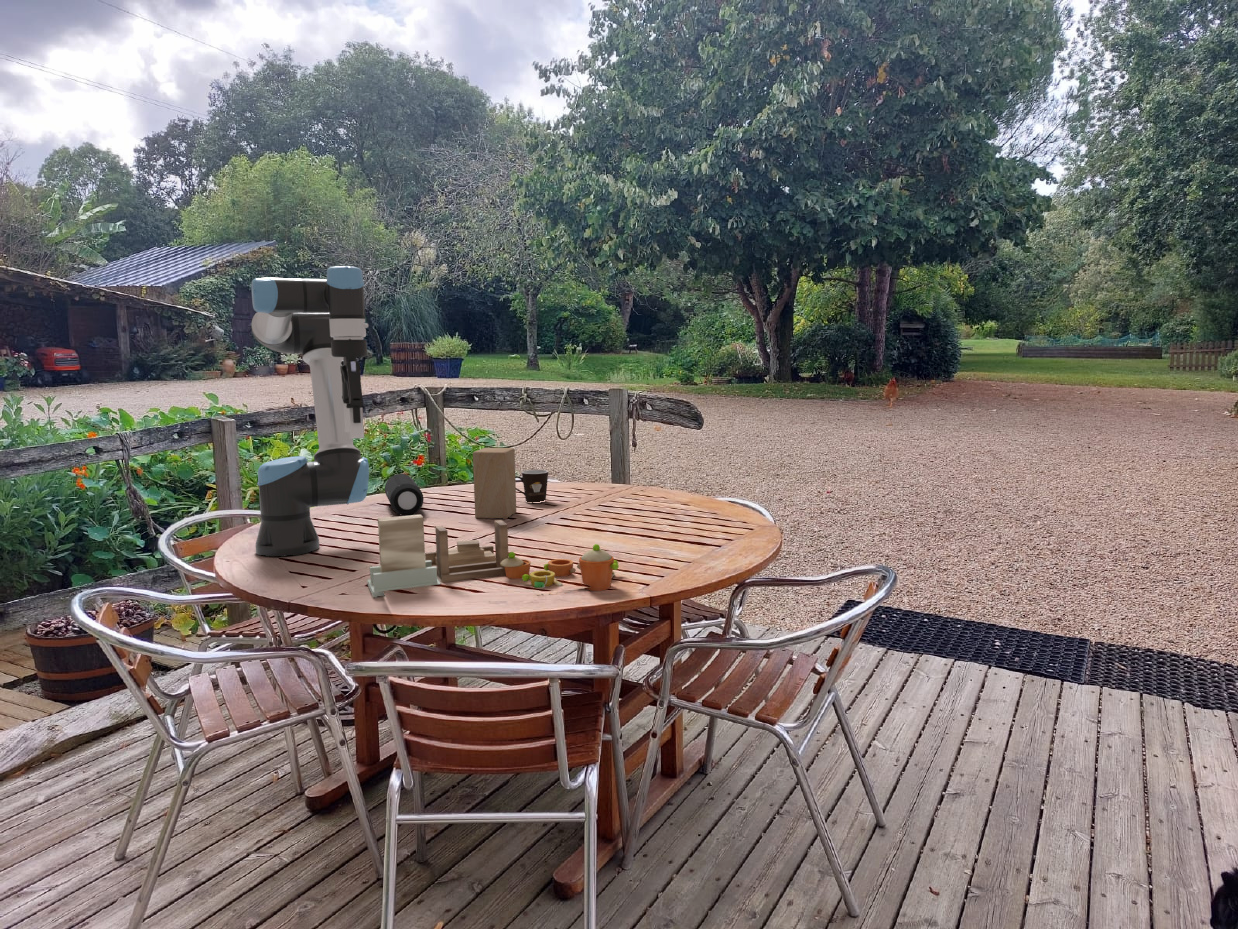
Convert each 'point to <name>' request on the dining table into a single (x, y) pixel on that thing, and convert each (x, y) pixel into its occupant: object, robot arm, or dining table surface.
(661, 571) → the dining table surface
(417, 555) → the birch block
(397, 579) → the stand
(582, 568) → the toy tea set
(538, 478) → the coffee mug
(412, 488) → the portable speaker
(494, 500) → the wooden block
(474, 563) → the rack
